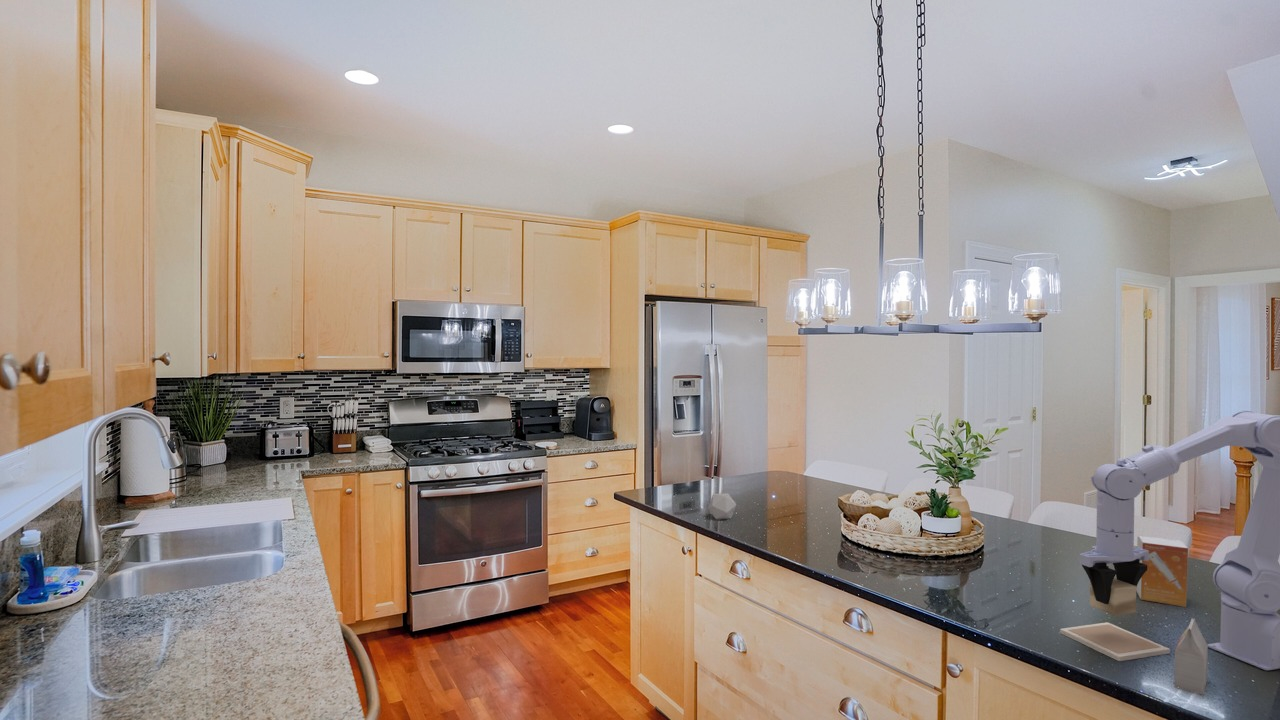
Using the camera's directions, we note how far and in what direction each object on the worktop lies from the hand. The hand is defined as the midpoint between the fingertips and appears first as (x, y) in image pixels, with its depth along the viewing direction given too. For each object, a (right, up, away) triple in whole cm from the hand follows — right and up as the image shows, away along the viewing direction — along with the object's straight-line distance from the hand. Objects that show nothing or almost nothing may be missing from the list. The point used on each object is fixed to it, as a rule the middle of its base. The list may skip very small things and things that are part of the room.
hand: (1113, 600), depth 124 cm
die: (-63, -6, +90) cm, 110 cm away
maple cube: (0, -2, 0) cm, 2 cm away
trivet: (0, -8, 0) cm, 8 cm away
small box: (+26, -8, +22) cm, 35 cm away
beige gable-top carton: (+2, -9, -15) cm, 17 cm away
